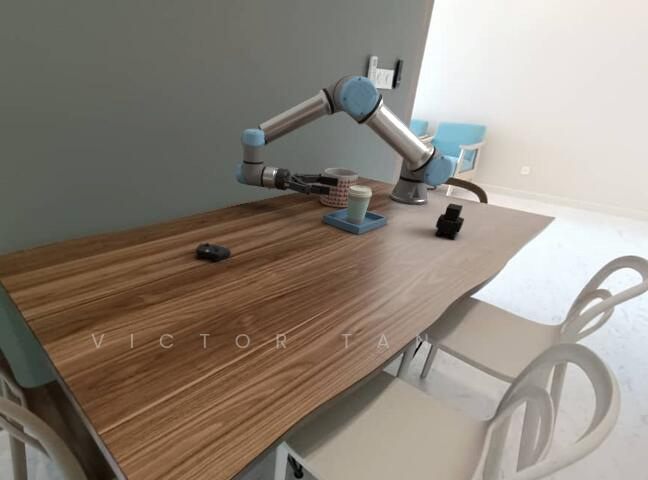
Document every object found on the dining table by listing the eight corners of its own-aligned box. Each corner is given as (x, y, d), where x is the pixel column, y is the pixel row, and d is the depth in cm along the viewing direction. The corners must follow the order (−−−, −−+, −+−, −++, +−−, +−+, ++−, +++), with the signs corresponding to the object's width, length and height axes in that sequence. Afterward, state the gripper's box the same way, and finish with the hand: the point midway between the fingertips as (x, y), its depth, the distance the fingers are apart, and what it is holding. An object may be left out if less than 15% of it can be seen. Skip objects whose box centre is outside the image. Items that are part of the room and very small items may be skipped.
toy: (462, 229, 143) (470, 202, 138) (455, 241, 132) (464, 212, 127) (440, 224, 146) (448, 198, 141) (432, 235, 135) (440, 207, 130)
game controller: (232, 251, 113) (226, 242, 107) (227, 268, 111) (220, 260, 106) (202, 245, 115) (194, 236, 109) (196, 262, 114) (188, 254, 108)
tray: (351, 212, 152) (352, 206, 151) (386, 224, 143) (387, 217, 142) (322, 221, 142) (323, 214, 140) (358, 234, 132) (359, 227, 131)
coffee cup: (369, 220, 144) (375, 187, 138) (363, 227, 137) (369, 193, 131) (346, 216, 147) (351, 183, 141) (339, 222, 140) (345, 188, 134)
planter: (320, 197, 169) (324, 166, 162) (352, 200, 168) (357, 169, 161) (319, 206, 157) (323, 174, 151) (354, 209, 156) (359, 177, 149)
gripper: (287, 181, 156) (339, 188, 151) (264, 197, 136) (324, 206, 130) (288, 161, 153) (342, 168, 147) (265, 175, 132) (327, 183, 127)
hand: (334, 186), depth 139 cm, fingers open, 13 cm apart
